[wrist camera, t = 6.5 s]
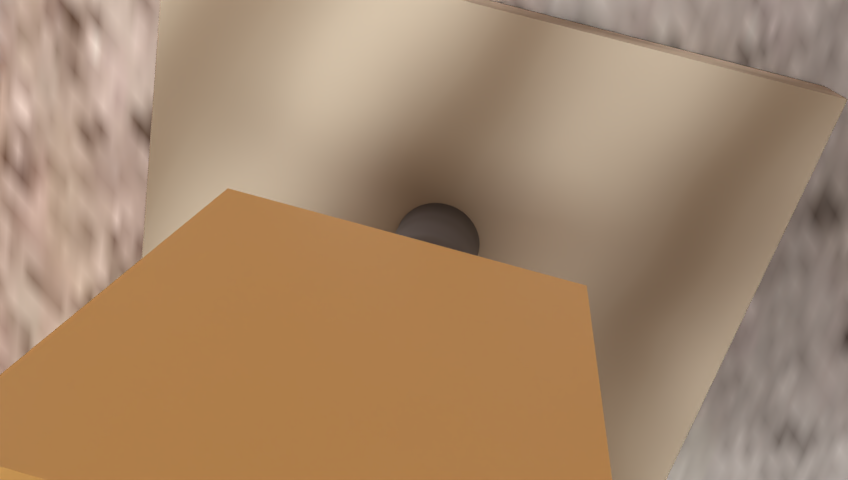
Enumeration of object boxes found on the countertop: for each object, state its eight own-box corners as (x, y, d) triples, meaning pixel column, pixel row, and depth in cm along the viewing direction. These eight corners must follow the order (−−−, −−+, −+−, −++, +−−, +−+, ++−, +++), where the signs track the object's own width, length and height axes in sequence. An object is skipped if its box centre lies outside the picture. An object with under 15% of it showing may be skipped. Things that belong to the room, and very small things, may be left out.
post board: (824, 86, 18) (947, 156, 12) (650, 464, 22) (682, 635, 17) (194, -76, 18) (44, -78, 13) (159, 323, 23) (40, 443, 18)
